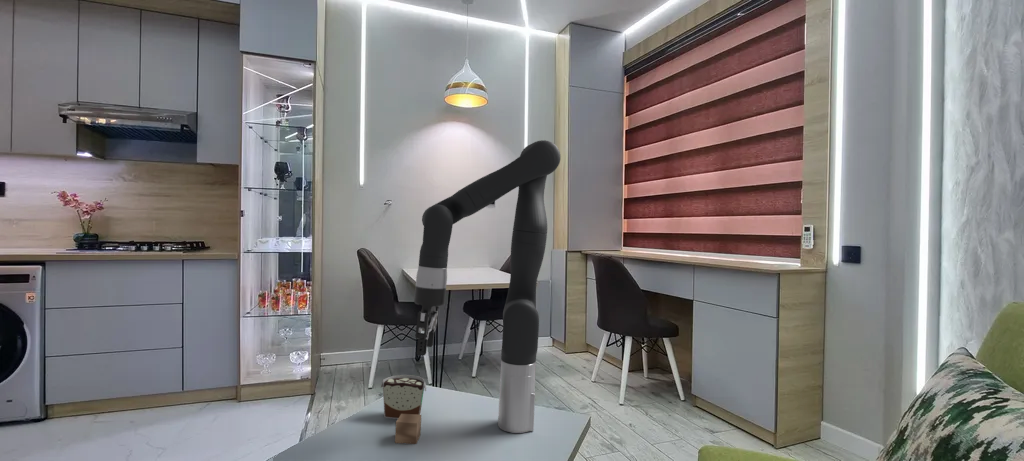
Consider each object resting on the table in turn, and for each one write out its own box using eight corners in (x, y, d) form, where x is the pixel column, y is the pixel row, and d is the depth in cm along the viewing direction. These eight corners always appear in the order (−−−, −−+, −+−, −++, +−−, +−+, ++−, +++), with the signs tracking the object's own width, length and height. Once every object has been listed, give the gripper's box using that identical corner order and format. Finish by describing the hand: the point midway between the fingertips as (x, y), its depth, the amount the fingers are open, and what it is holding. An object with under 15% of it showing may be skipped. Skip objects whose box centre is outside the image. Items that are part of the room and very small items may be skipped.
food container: (430, 412, 125) (432, 376, 125) (424, 421, 119) (425, 383, 119) (387, 408, 126) (389, 372, 126) (379, 417, 120) (380, 379, 120)
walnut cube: (420, 435, 111) (421, 414, 111) (416, 444, 106) (417, 423, 106) (400, 434, 111) (401, 413, 111) (394, 443, 106) (395, 422, 106)
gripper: (441, 289, 104) (434, 359, 104) (450, 283, 119) (444, 345, 118) (409, 286, 105) (402, 356, 104) (422, 281, 119) (416, 342, 119)
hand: (424, 350), depth 111 cm, fingers open, 8 cm apart
